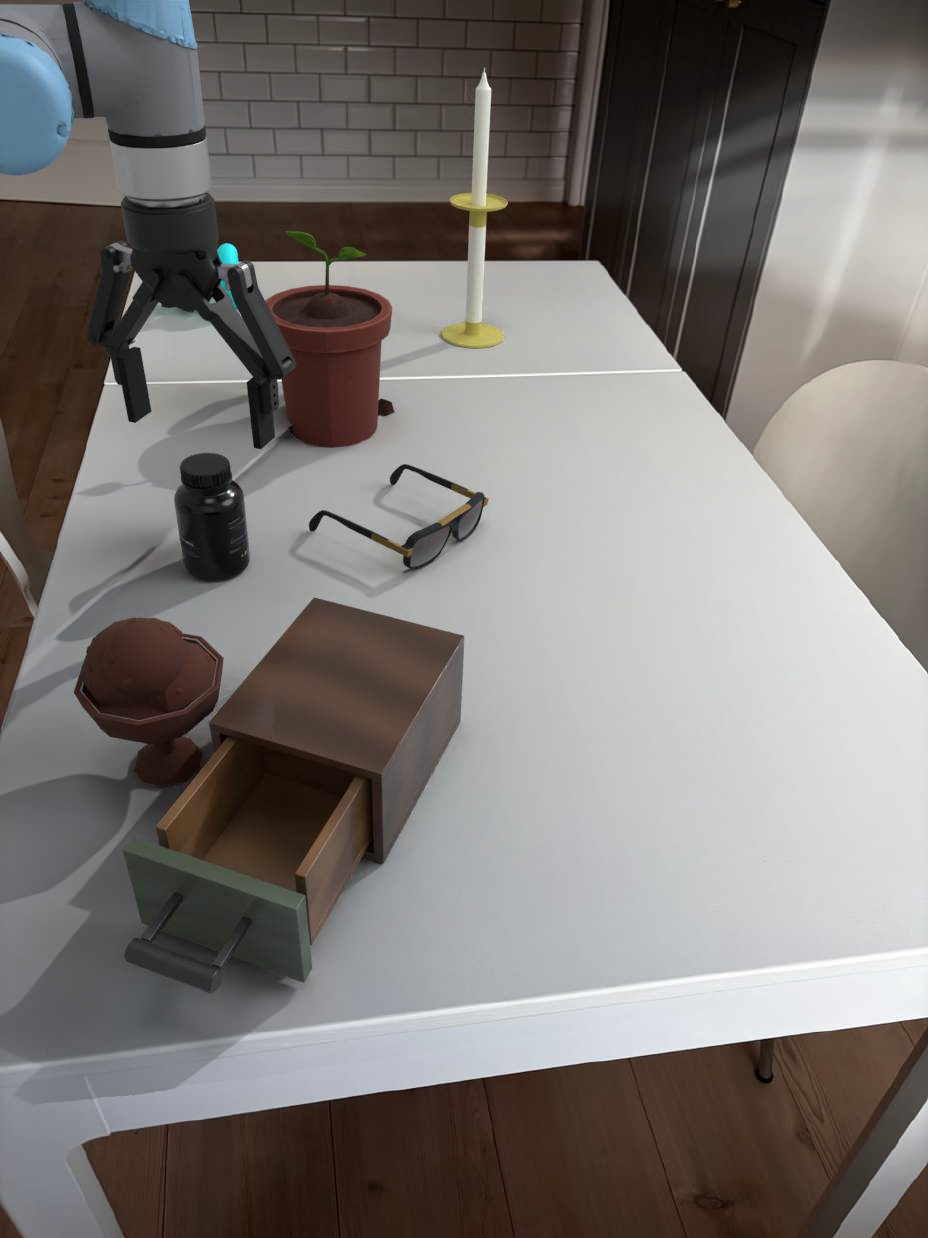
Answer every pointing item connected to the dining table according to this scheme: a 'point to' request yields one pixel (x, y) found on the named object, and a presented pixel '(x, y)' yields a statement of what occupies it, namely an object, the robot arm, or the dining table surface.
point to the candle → (477, 233)
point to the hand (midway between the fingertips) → (201, 429)
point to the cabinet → (355, 704)
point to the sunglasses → (432, 538)
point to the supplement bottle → (211, 519)
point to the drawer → (248, 863)
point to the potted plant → (332, 356)
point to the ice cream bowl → (151, 693)
